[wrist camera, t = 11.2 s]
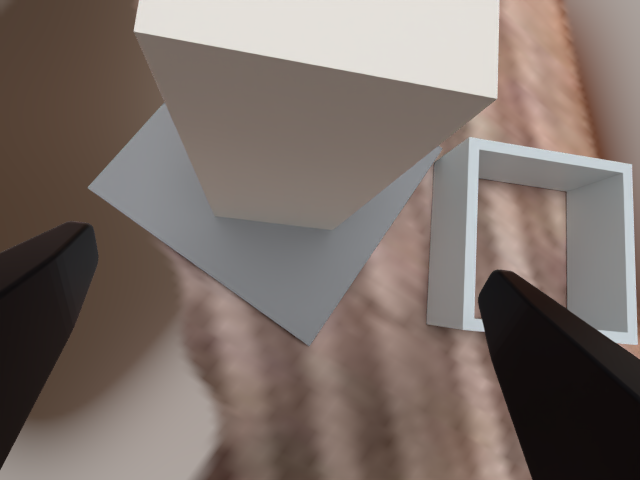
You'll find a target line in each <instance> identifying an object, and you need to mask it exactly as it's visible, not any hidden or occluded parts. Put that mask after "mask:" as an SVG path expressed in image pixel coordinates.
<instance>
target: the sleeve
mask: <svg viewBox="0 0 640 480" xmlns="http://www.w3.org/2000/svg"><path fill="white" fill-rule="evenodd" d="M478 178H480V179H487V180H493V181H500V182H506V183H513V184H520V185H526V186H533V187H540V188H546V189H553V190H559V191H566V192H567V309H568V310H569V311H570V312H572V313H573V314H575V315H576V316H578V317H579V318H581V319H582V320H583V321H585V322H586V323H588V324H589V325H591V326H592V327H594V328H595V329H596V330H598V331H599V332H601V333H602V334H604V335H605V336H607V337H608V338H609V339H611V340H612V341H614V342H615V343H621V344H633V345H638V341H637V310H636V279H635V250H634V248H635V247H634V219H633V218H634V216H633V187H632V186H633V185H632V164H626V163H621V162H615V161H608V160H603V159H597V158H591V157H585V156H579V155H573V154H567V153H561V152H555V151H549V150H543V149H537V148H531V147H525V146H519V145H513V144H507V143H501V142H495V141H489V140H484V139H478V138H472V137H469V138H467V139H466V140H465V141H463V142H462V143H460V144H459V145H458V146H456V147H455V148H454V149H452V150H451V151H449V152H448V153H447V154H445V155H444V156H443V157H441V158H440V159H438V160H437V161H436V162H434V177H433V198H432V218H431V239H430V260H429V281H428V301H427V322H426V324H428V325H435V326H441V327H447V328H454V329H460V330H470V331H481V332H485V331H484V326H483V322H482V319H475V318H474V306H475V273H476V239H477V206H478Z"/></svg>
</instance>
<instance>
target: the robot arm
mask: <svg viewBox="0 0 640 480" xmlns="http://www.w3.org/2000/svg"><path fill="white" fill-rule="evenodd" d="M97 264H98V250H97V245H96V239H95V233H94V229H93V227H92V225H90V224H89V223H82V222H74V221H69V222H66V223H64V224H62V225H59V226H57V227H55V228H53V229H51V230H49V231H47V232H44V233H42V234H40V235H38V236H36V237H33V238H31V239H29V240H27V241H25V242H23V243H20V244H18V245H16V246H14V247H12V248H10V249H7V250H5V251H3V252H1V253H0V469H1V468H2V466H3V464H4V462H5V460H6V458H7V456H8V454H9V452H10V450H11V448H12V446H13V444H14V443H15V441H16V439H17V437H18V435H19V433H20V431H21V429H22V427H23V425H24V423H25V421H26V419H27V417H28V415H29V413H30V412H31V410H32V408H33V406H34V404H35V402H36V400H37V398H38V396H39V394H40V393H41V391H42V389H43V387H44V385H45V383H46V381H47V379H48V377H49V375H50V373H51V371H52V369H53V368H54V366H55V364H56V362H57V360H58V358H59V356H60V354H61V352H62V350H63V348H64V346H65V344H66V342H67V341H68V338H69V337H70V334H71V332H72V330H73V328H74V326H75V323H76V321H77V318H78V316H79V313H80V310H81V308H82V305H83V302H84V299H85V297H86V294H87V291H88V289H89V286H90V283H91V281H92V278H93V275H94V273H95V270H96V267H97ZM478 304H479V309H480V313H481V318H482V322H483V326H484V331H485V335H486V340H487V344H488V348H489V352H490V356H491V360H492V363H493V366H494V369H495V372H496V375H497V378H498V381H499V384H500V387H501V390H502V393H503V396H504V399H505V401H506V404H507V407H508V410H509V413H510V416H511V419H512V422H513V425H514V428H515V431H516V433H517V436H518V439H519V442H520V445H521V448H522V451H523V454H524V457H525V460H526V463H527V465H528V468H529V471H530V474H531V477H532V480H640V359H638V358H637V357H635V356H634V355H633V354H631V353H630V352H628V351H627V350H625V349H624V348H622V347H621V346H620V345H618V344H617V343H615V342H614V341H612V340H611V339H609V338H608V337H607V336H605V335H604V334H602V333H601V332H599V331H598V330H596V329H595V328H594V327H592V326H591V325H589V324H588V323H586V322H585V321H583V320H582V319H581V318H579V317H578V316H576V315H575V314H573V313H572V312H570V311H569V310H568V309H566V308H565V307H563V306H562V305H560V304H559V303H557V302H556V301H554V300H553V299H552V298H550V297H549V296H547V295H546V294H544V293H543V292H541V291H540V290H539V289H537V288H536V287H534V286H533V285H531V284H530V283H528V282H527V281H526V280H524V279H523V278H521V277H520V276H518V275H517V274H515V273H514V272H512V271H506V270H495V271H493V272H492V273H491V274H490V276H489V278H488V280H487V281H486V283H485V285H484V287H483V288H482V290H481V292H480V294H479V297H478Z"/></svg>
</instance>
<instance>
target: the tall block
mask: <svg viewBox="0 0 640 480" xmlns="http://www.w3.org/2000/svg"><path fill="white" fill-rule="evenodd" d="M134 33H135V35H136V38H137V40H138V42H139V44H140V47H141V49H142V51H143V54H144V56H145V58H146V61H147V63H148V65H149V67H150V70H151V72H152V74H153V77H154V79H155V81H156V83H157V86H158V88H159V90H160V93H161V95H162V97H163V100H164V102H165V104H166V106H167V109H168V111H169V113H170V116H171V118H172V120H173V122H174V125H175V127H176V129H177V132H178V134H179V136H180V138H181V141H182V143H183V145H184V148H185V150H186V152H187V154H188V157H189V159H190V161H191V164H192V166H193V168H194V170H195V173H196V175H197V177H198V180H199V182H200V184H201V186H202V189H203V191H204V193H205V196H206V198H207V200H208V202H209V205H210V207H211V209H212V212H213V214H214V216H217V217H226V218H234V219H242V220H251V221H259V222H267V223H276V224H284V225H292V226H301V227H309V228H317V229H326V230H333V229H335V228H336V227H337V226H338V225H340V224H341V223H342V222H343V221H345V220H346V219H347V218H348V217H350V216H351V215H352V214H354V213H355V212H356V211H357V210H359V209H360V208H361V207H362V206H364V205H365V204H366V203H367V202H369V201H370V200H371V199H372V198H374V197H375V196H376V195H377V194H379V193H380V192H381V191H382V190H384V189H385V188H386V187H387V186H389V185H390V184H391V183H392V182H394V181H395V180H396V179H397V178H399V177H400V176H401V175H402V174H404V173H405V172H406V171H407V170H409V169H410V168H411V167H412V166H414V165H415V164H416V163H417V162H419V161H420V160H421V159H422V158H424V157H425V156H426V155H427V154H429V153H430V152H431V151H432V150H434V149H435V148H436V147H437V146H439V145H440V144H441V143H442V142H444V141H445V140H446V139H447V138H449V137H450V136H451V135H452V134H454V133H455V132H456V131H457V130H459V129H460V128H461V127H462V126H464V125H465V124H466V123H467V122H469V121H470V120H471V119H472V118H474V117H475V116H476V115H477V114H479V113H480V112H481V111H482V110H484V109H485V108H486V107H487V106H489V105H490V104H491V103H492V102H494V101H495V100H496V99H497V86H498V40H499V0H139V5H138V10H137V16H136V21H135V28H134Z"/></svg>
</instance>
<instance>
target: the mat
mask: <svg viewBox="0 0 640 480" xmlns="http://www.w3.org/2000/svg"><path fill="white" fill-rule="evenodd" d="M441 150H442V148H441V147H440V146H437V147H436V148H435V149H434V150H432V151H431V152H430V153H429V154H427V155H426V156H425V157H424V158H422V159H421V160H420V161H419V162H417V163H416V164H415V165H414V166H412V167H411V168H410V169H409V170H407V171H406V172H405V173H404V174H402V175H401V176H400V177H399V178H397V179H396V180H395V181H394V182H392V183H391V184H390V185H389V186H387V187H386V188H385V189H384V190H382V191H381V192H380V193H379V194H377V195H376V196H375V197H374V198H372V199H371V200H370V201H369V202H367V203H366V204H365V205H364V206H362V207H361V208H360V209H359V210H357V211H356V212H355V213H354V214H352V215H351V216H350V217H348V218H347V219H346V220H345V221H343V222H342V223H341V224H340V225H338V226H337V227H336V228H335V229H333V230H326V229H317V228H309V227H301V226H292V225H284V224H276V223H267V222H259V221H251V220H242V219H234V218H226V217H217V216H214V214H213V212H212V209H211V207H210V205H209V202H208V200H207V198H206V196H205V193H204V191H203V189H202V186H201V184H200V182H199V180H198V177H197V175H196V173H195V170H194V168H193V166H192V164H191V161H190V159H189V157H188V154H187V152H186V150H185V148H184V145H183V143H182V141H181V138H180V136H179V134H178V132H177V129H176V127H175V125H174V122H173V120H172V118H171V116H170V113H169V111H168V109H167V106H166V104H165V102H164V103H163V105H162V106H161V107H160V108H159V109H158V110H157V111H156V112H155V114H154V115H153V116H152V117H151V118H150V119H149V120H148V121H147V122H146V123H145V125H144V126H143V127H142V128H141V129H140V130H139V131H138V133H136V135H135V136H134V137H133V138H132V139H131V140H130V141H129V142H128V143H127V144H126V146H125V147H124V148H123V149H122V150H121V151H120V152H119V153H118V154H117V156H116V157H115V158H114V159H113V160H112V161H111V162H110V163H109V164H108V166H107V167H106V168H105V169H104V170H103V171H102V172H101V173H100V175H98V177H97V178H96V179H95V180H94V181H93V182H92V184H90V185H89V187H88V189H90V190H91V191H93V192H94V193H95V194H97V195H98V196H100V197H101V198H102V199H104V200H105V201H107V202H108V203H110V204H111V205H112V206H114V207H115V208H116V209H118V210H119V211H121V212H122V213H123V214H125V215H126V216H128V217H129V218H130V219H132V220H133V221H135V222H136V223H137V224H139V225H140V226H142V227H143V228H144V229H146V230H147V231H149V232H150V233H151V234H153V235H154V236H156V237H157V238H158V239H160V240H161V241H163V242H164V243H165V244H167V245H168V246H170V247H171V248H172V249H174V250H175V251H177V252H178V253H179V254H181V255H182V256H184V257H185V258H186V259H188V260H189V261H191V262H192V263H193V264H195V265H196V266H198V267H199V268H200V269H202V270H203V271H205V272H206V273H207V274H209V275H210V276H212V277H213V278H214V279H216V280H217V281H219V282H220V283H221V284H223V285H224V286H226V287H227V288H228V289H230V290H231V291H233V292H234V293H235V294H237V295H238V296H240V297H241V298H242V299H244V300H245V301H247V302H248V303H249V304H251V305H252V306H254V307H255V308H256V309H258V310H259V311H261V312H262V313H263V314H265V315H266V316H268V317H269V318H270V319H272V320H273V321H275V322H276V323H277V324H279V325H280V326H282V327H283V328H284V329H286V330H287V331H289V332H290V333H291V334H293V335H294V336H296V337H297V338H298V339H300V340H301V341H303V342H304V343H305V344H307V345H308V346H310V345H311V343H312V342H313V340H314V339H315V337H316V336H317V334H318V333H319V331H320V330H321V328H322V327H323V325H324V324H325V322H326V321H327V319H328V318H329V316H330V315H331V313H332V312H333V310H334V309H335V307H336V306H337V304H338V303H339V302H340V300H341V299H342V297H343V296H344V294H345V293H346V291H347V290H348V288H349V287H350V285H351V284H352V282H353V281H354V279H355V278H356V276H357V275H358V273H359V272H360V270H361V269H362V267H363V266H364V264H365V263H366V262H367V260H368V259H369V257H370V256H371V254H372V253H373V251H374V250H375V248H376V247H377V245H378V244H379V242H380V241H381V239H382V238H383V236H384V235H385V233H386V232H387V230H388V229H389V227H390V226H391V224H392V223H393V221H394V220H395V219H396V217H397V216H398V214H399V213H400V211H401V210H402V208H403V207H404V205H405V204H406V202H407V201H408V199H409V198H410V196H411V195H412V193H413V192H414V190H415V189H416V187H417V186H418V184H419V183H420V181H421V180H422V179H423V177H424V176H425V174H426V173H427V171H428V170H429V168H430V167H431V165H432V164H433V162H434V161H435V159H436V158H437V156H438V155H439V153H440V152H441Z"/></svg>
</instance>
